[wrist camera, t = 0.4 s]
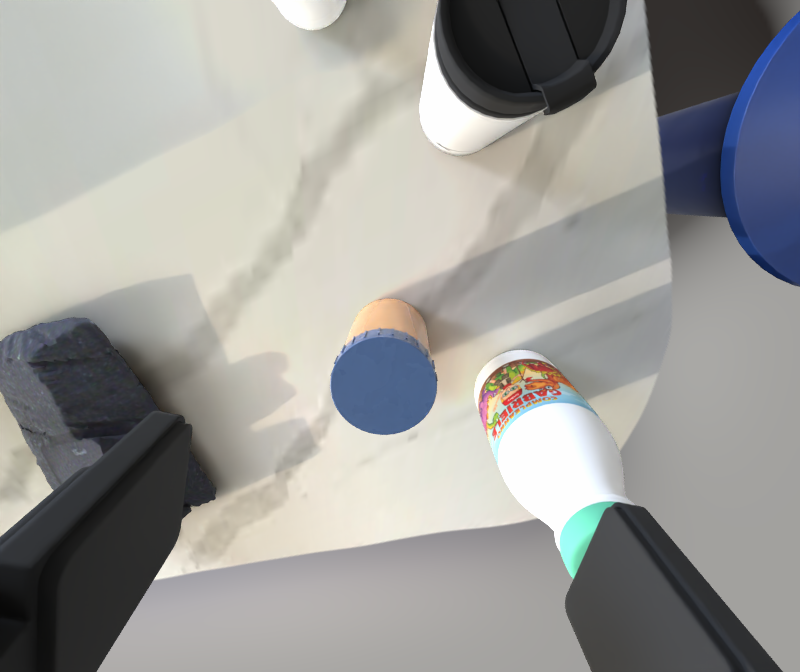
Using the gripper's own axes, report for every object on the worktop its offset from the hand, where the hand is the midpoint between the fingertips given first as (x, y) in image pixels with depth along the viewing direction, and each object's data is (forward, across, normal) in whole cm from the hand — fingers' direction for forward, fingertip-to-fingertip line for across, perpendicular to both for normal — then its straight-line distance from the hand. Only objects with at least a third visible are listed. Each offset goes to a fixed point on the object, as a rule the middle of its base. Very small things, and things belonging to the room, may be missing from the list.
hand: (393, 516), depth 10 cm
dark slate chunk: (+30, +23, +20) cm, 42 cm away
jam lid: (+18, -1, +5) cm, 19 cm away
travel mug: (+28, -2, -14) cm, 32 cm away
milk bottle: (+28, -13, +6) cm, 32 cm away
